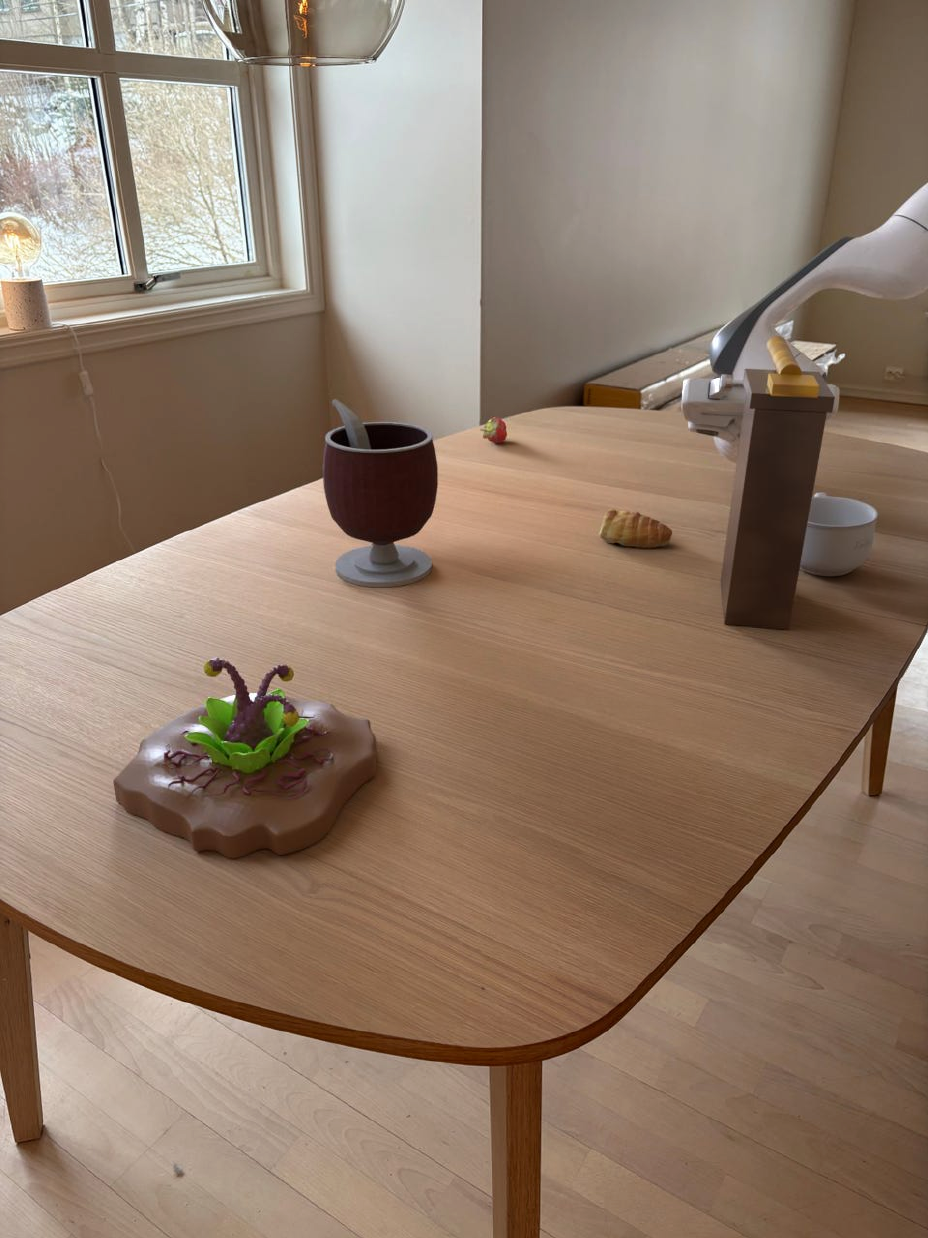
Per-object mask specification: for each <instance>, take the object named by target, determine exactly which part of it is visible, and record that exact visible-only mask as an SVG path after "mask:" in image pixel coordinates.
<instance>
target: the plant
mask: <svg viewBox="0 0 928 1238" xmlns="http://www.w3.org/2000/svg"><path fill="white" fill-rule="evenodd" d="M223 669H225V670H226V672H227V674H228V675H229V676H230V680H231V681H232V683H233V688H234V690H235V694H233V695H232V694H231V695H229V696H226V697H223V698H217V697H211V696H208V697H207V698H206V699H205V701H204V703H203V704H201V705H198V706H196V707H193V708H191V709H189V710H187V711H185V712H184V713H181V714H179V715H177V716H176V717H174V718H173V719H171V720H169V721H168V722H167V723H165V724H164V725H163V726H161V727H160V728H157V729H156V730H154V731H153V732H152V733H150V734H149V735H148V736H146V737H145V738H144V739H142V740H141V742H140V744H139V748H138V752H137V754H136V755H135V756H134V758H132V759H131V760H130V761H129V762H128V763H127V765H126V766H125V767H124V768H123V769H122V770H121V771H120V772H119V773H118V775H116V777H115V778H114V779H113V787H114V789H113V790H114V795H115V802H117V803H118V804H119V805H121V807H122V808H123V809H124V810H125V811H126V812H127V813H129V814H131V815H134V816H137V817H140V818H142V819H145V820H147V821H148V822H150V824H152V825H153V826H154V827H155V828H156V829H158V830H160V831H161V832H165V833H168V834H171V835H172V836H175V837H179V838H183V839H185V840H187V841H189V842H190V844H191V845H192V848H193V850H194V851H195V852H203V851H214V852H218V853H220V854H221V855H223V856H224V857H226V858H227V859H232V860H233V859H238V858H242V857H244V856H247V855H249V854H251V853H253V852H256V851H258V850H263V849H268V850H270V851H272V852H273V853H275V854H277V855H278V856H284V855H289V854H292V853H295V852H299V851H301V850H304V849H306V848H308V847H310V846H312V845H314V844H316V843H318V842H319V841H321V840H322V839H323V838H324V837H325V836H326V835H327V834H328V832H330V830H331V829H332V827H333V825H334V824H335V822H336V821H337V817H338V816H339V814H340V812H341V810H342V808H343V807H344V805H345V804H346V803H347V802H348V800H349V799H350V798H351V797H352V796H353V795H354V794H355V793H356V792H357V790H358V789H359V788H360V787H361V786H363V785H364V784H365V783H366V782H368V781H369V780H371V779H372V778H374V777H375V775H376V774H377V759H378V747H377V738H376V737H377V736H376V735H375V733H374V732H373V730H372V727H371V721H370V720H369V719H368V718H358V717H352V716H349V715H346V714H345V713H343V712H341V711H340V710H338V709H337V707H335V706H334V704H331V703H328V702H324V701H314V700H305V699H300V698H294V697H291V696H286V695H285V694H286V693H285V691H284V690H283V689H282V688H277V689H274V690H272V691H270V692H268V690H269V688H270V684H271V683H272V680H273V679H274V678H275V676H276V675H277V676H278V678H279V679H280V680H281V681H282V682H287V683H288V682H291V681H292V680H293V678H294V677H295V671H294V669H293V668H292V667H291V666H289V665H287V664H277V665H276V666H274V667H272V669H269V672H266V674H265V676H264V677H263V678H262V679H261V684H259V686H258V687H259V688H258V691H257V692H249V691H248V686H247V685H246V684H245V683H246V681H245V679H243V678H242V676H241V675H240V674H239V671H238V670H237V668H236V667H235V665H232V664H231V663H230V662H229V661H228V660H225V659H223V658H220V657H212V658H209V659H208V660H206V662H204V664H203V672H204V674H206V676H208V677H209V678H214V677H215V678H217V676H219V675H220V674H221V673H222V671H223Z"/></svg>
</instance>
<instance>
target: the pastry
mask: <svg viewBox="0 0 928 1238" xmlns="http://www.w3.org/2000/svg"><path fill="white" fill-rule="evenodd" d="M602 520H603V521H602V523H601V526H600V529H599V530H600V531H599V533H598V535H599V537H600V538H601V539H602V540H604V541H605V542H606V543H611V544H614V543H618V544H620V545H621V546H626V547H636V548H642V549H644V548H645V549H646V548H647V549H652V548H656V547H665V546H666V545H668V544H669V543H670V542H671V539H672V538H671V537H672V535H673V530H672V529H671V528H670V527H669V526H668V525H666V524H664V523H662V522H660V520H657V519H654V518H651V517H650V516H647V515H643V514H640V512H639V511H633V512H631V511H629V510H627V509H623V510H620V511H617V510H616V509H613V508H609V509H608V510H607V511H606V512H605V514H604V517H603V519H602Z"/></svg>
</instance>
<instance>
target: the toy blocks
mask: <svg viewBox="0 0 928 1238" xmlns="http://www.w3.org/2000/svg"><path fill="white" fill-rule="evenodd" d="M781 336H782V335H781ZM781 336H774V337H772V338H770V339H769V340H768V342H767V350H768V353H769V355H770V357H771V360H772V362H773V364H774V367H775V369H776V371H777V374H769V375H768V383H767V385H768V388H769V391H770V394H771V396H785V397H807V398H817V397H818V391H819V385H818V383H817V381H816V380H815V378H814V376H813V375H802V371H801V369H800V367H799V365H798V363H797V361H796V360H795V358H794V356H793V354H792V352H791V350H790V349H789V347H788V345H787V343H786V341H785V339H786V338H785V337H784V336H782V337H781ZM783 337H784V338H785V339H784V338H783Z"/></svg>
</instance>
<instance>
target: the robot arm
mask: <svg viewBox="0 0 928 1238" xmlns="http://www.w3.org/2000/svg"><path fill="white" fill-rule="evenodd" d="M828 289H829V290H830V289H838V290H844V291H850V292H854V293H857V294H860V295H863V296H867V297H870V298H873V299H878V300H882V301H883V300H885V301H902V300H903V301H904V300H908V299H911V298H914V297H916V296H919V295H921V294H923V293H924V292H925V291H927V289H928V182H926V183H925V184H923V186H921V187H920V188H919V189H918V190H916V191H915V192H914V193H913V194H912V195H911V196H910V197H909V198H908V199H907V200H906V201H905V202H904V203H902V205H901V206H900V207H898V209H897V210H896V211H895V212H894V213H893V214H892V215H891V216H890V217H889V219H887V220H886V221H885V222H884V223H882V225H881V226H879V227H878V228H876V229H875V230H872V231H871V232H869V233H866V234H864V235H861V236H858V237H854V236H844V237H841V238H839V239H838V240H835V241H834V242H832V243H831V244H829V245H828V246H827V247H825V248H824V249H823V250H821V251H820V252H819V253H818V254H816V255H814V256H813V257H811V259H810V260H808V261H807V262H806V263H804V264H803V265H802V266H800V267H799V268H798V269H797V270H795V271H794V272H793V273H792V274H791V275H790V276H788V277H787V278H786V279H785V280H783V281H782V282H781V283H779V284H778V285H777V286H775V287H774V288H773V289H771V291H770V292H768V293H767V294H766V295H765V296H763V297H762V298H761V299H759V300H758V301H756V303H755V304H753V305H751V306H750V307H749V308H748V309H746V310H745V311H743V312H742V313H741V314H739V315H738V316H736V317H734V318H733V319H731V320H730V321H728V322H727V323H726V324H725V325H724V326H722V327H721V328H720V329H719V330H718V331H717V333H716V334H715V335H714V337H713V339H712V340H711V342H710V344H709V345H708V355H709V356H708V357H709V363H710V368H711V372H713V373H714V374H716V375H717V376H719V377H718V378H703V377H700V378H699V377H689V378H685V379H684V380H683V383H682V392H681V403H680V405H681V407H680V408H681V413H682V417H683V419H685V421H687V427H688V431H689V432H691V433H695V434H700V435H704V436H705V435H706V436H710V437H713V441H714V445H715V447H716V449H717V451H718V453H719V454H720V455H721V456H722V457H723V458H724V459H726V460H728V461H729V462H733V463H735V464H736V463H737V456H738V449H739V441H740V434H741V426H742V419H743V412H744V404H745V397H746V392H745V389H744V385H743V378H744V370H745V369H763V370H776V369H775V367H774V364H773V362H772V360H771V357H770V355H769V353H768V350H767V342H768V340H769V339H770V338H772V337H774V336H781V337H783V338H784V339H785V341H786V343H787V345H788V347H789V349H790V350H791V352H792V354H793V356H794V358H795V360H796V361H797V363H798V365H799V367H800V369H801V371H808V372H820V374H821V375H822V377H823V379H824V380H825V382H826V384H827V385H828V387H829V389H830V390H831V392H832V393H833V395H834V397H835V400H834V406H833V411H832V413H827V415H826V421H828V420H829V419H831V418H832V417H834V416H835V415H836V414H837V413H838V411H839V405H840V394H841V393H840V392H841V391H840V387H839V386H837V385H835V384H831V383H828V375H827V371H825V370H824V369H823V368H822V367H820V366H819V365H818V364H817V363H816V362H814V361H813V360H812V359H811V358H810V357H809V356H808V355H807V354H805V353H804V352H802V351H800V350H799V349H798V347H796V346H795V345H793V344H792V343H791V342H790V341H788V340H787V339H786V338H785V337H784V336H783V335H782V334H780V333H779V332H778V331H777V330H776V325H777V324H778V323H779V322H781V321H782V320H783V319H784V318H786V317H787V316H788V315H789V314H790V313H792V312H793V311H795V310H796V309H797V308H799V307H800V306H801V305H802V304H803V303H805V302H806V301H807V300H808V299H809V298H811V297H812V296H814V295H815V294H817V293H818V292H820V291H824V290H828Z"/></svg>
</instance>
